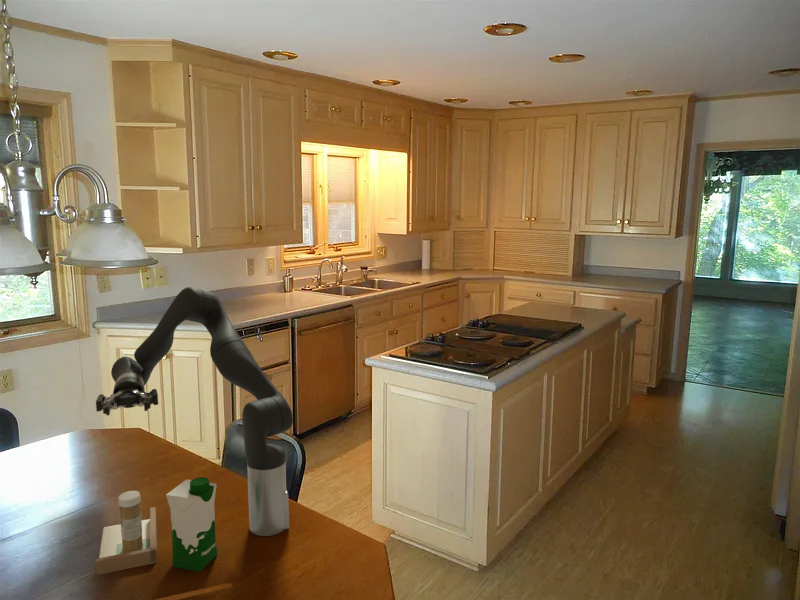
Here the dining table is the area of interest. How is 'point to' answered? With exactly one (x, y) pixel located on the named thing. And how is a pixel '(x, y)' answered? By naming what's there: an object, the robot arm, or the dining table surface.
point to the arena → (131, 559)
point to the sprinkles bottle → (130, 521)
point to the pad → (145, 546)
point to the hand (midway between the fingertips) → (126, 409)
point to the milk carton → (193, 524)
